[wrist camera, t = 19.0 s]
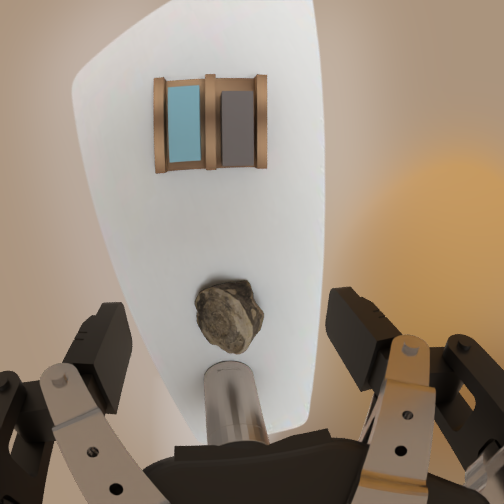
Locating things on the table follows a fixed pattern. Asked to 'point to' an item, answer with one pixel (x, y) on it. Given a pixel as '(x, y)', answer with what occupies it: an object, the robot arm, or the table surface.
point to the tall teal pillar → (184, 123)
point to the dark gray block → (237, 128)
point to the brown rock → (229, 316)
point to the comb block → (209, 121)
